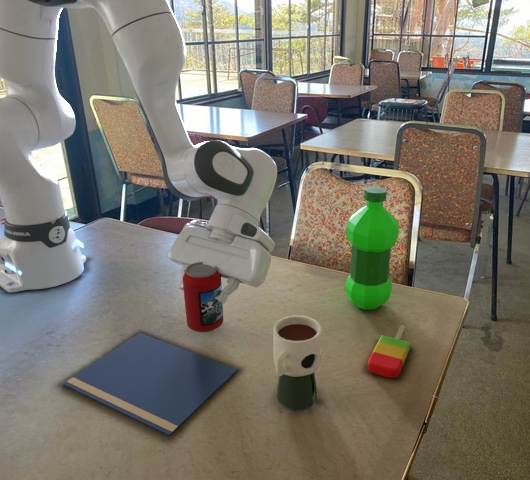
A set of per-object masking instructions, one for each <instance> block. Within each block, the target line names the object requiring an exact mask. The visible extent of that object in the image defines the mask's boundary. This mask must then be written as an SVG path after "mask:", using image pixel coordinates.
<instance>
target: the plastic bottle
mask: <svg viewBox="0 0 530 480" xmlns="http://www.w3.org/2000/svg"><path fill="white" fill-rule="evenodd" d="M387 195H388V189H386V188H384V187H381V186H368V187H365V189H364V193H363V200H365V201H366V204H365V206H363V207H361V208H360V209H359V210H358V211H356V212H354V214H352V215H351V217H350V218H349V220H348V221H347V224H346V226H345V235H346V240H347V241H348V242H349V243H350V244H351V251H350V252H351V254H350V271H349V275H348V277H347V279H346V282H345V283H344V292H345V295H346V296H347V297H348V298H349V300H350V301H351V302H352V303H353V304H354V305H355V307H357V308H358V309H362V310H365V311H366V310H367V311H369V310H371V311H373V310H375V309H378V308H379V307H380V306H382V305H384V304H386V303H387V302H388V301H389V299H390V297H391V293H392V290H393V283H392V280H391V278H390V276H389V275H390V264H391V263H390V262H391V255H392V248H393V247H395V246H396V244H397V240H398V238H399V234H400V224H399V220H398V219H397V218H395V216H394V215H393V214H392V213H390V212H389V211H388V210H387V209H386V208H385V207H384V202H386V201H387Z"/></svg>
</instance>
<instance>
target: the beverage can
mask: <svg viewBox="0 0 530 480" xmlns="http://www.w3.org/2000/svg"><path fill="white" fill-rule="evenodd" d="M183 288H184V291H183V297H184V307H185V308H184V309H185V318H186V326H187V327H188V328H189V330H191V331H195V332H197V333H209V332H213V331H215V330H217V329H218V328H220V327H221V326H222V325H223V323H224V305H223V303H220V302H217V301H216V300H214V297H215V296H216V293H217V291H218V290H219V291H222V290H223V285H222V277H221V274H219V273H218V271H217V267H216V265H215V267H212V266H209V265H206V264H203V262H197V263H193V264H191V265H189V266H188V267H187V268H186V272H185V274H184V276H183Z"/></svg>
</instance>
